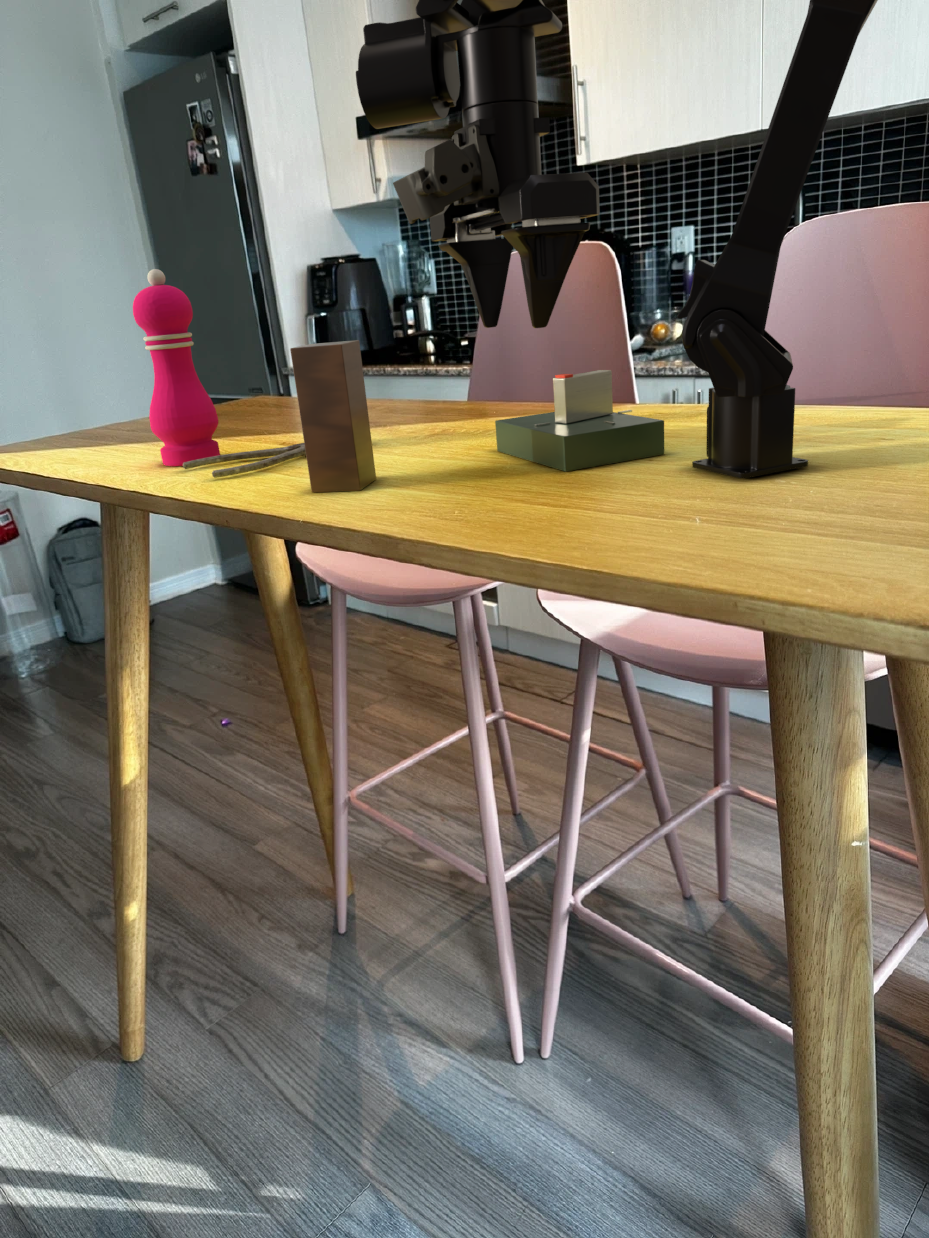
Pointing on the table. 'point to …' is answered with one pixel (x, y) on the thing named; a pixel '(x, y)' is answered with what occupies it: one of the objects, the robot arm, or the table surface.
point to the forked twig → (278, 453)
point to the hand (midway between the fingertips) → (513, 327)
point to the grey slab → (582, 396)
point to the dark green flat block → (580, 439)
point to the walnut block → (334, 415)
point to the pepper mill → (175, 375)
